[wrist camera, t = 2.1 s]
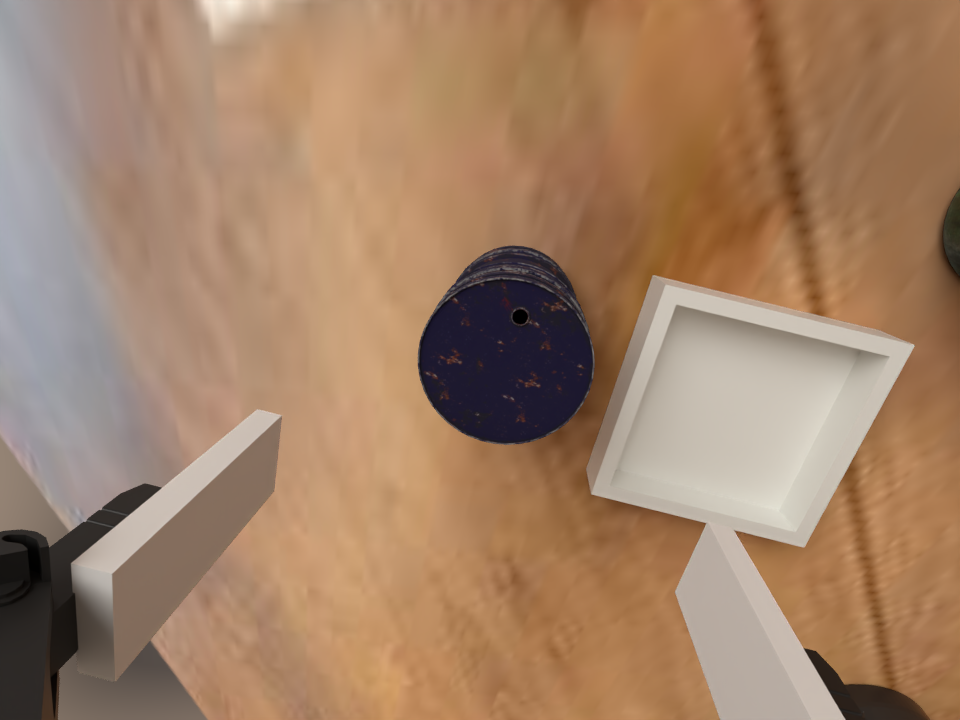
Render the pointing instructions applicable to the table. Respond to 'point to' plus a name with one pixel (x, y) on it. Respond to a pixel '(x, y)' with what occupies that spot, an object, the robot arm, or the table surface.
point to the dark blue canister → (507, 349)
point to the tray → (739, 410)
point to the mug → (953, 233)
